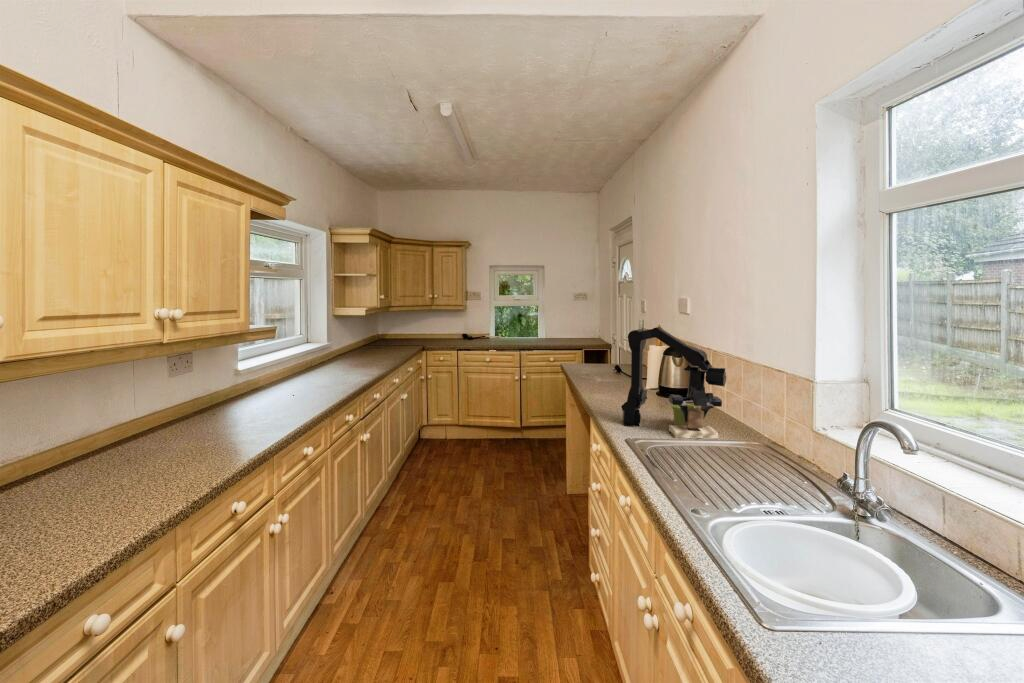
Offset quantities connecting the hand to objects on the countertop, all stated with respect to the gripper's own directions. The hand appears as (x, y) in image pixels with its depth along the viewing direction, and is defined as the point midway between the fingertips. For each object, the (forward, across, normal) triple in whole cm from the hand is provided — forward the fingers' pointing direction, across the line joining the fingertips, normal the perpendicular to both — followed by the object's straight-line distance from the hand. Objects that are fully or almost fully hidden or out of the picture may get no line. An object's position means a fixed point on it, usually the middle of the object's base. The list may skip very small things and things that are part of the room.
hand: (693, 422), depth 196 cm
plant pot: (+6, -1, +12) cm, 14 cm away
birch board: (+5, 0, 0) cm, 5 cm away
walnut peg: (+4, 0, 0) cm, 4 cm away
